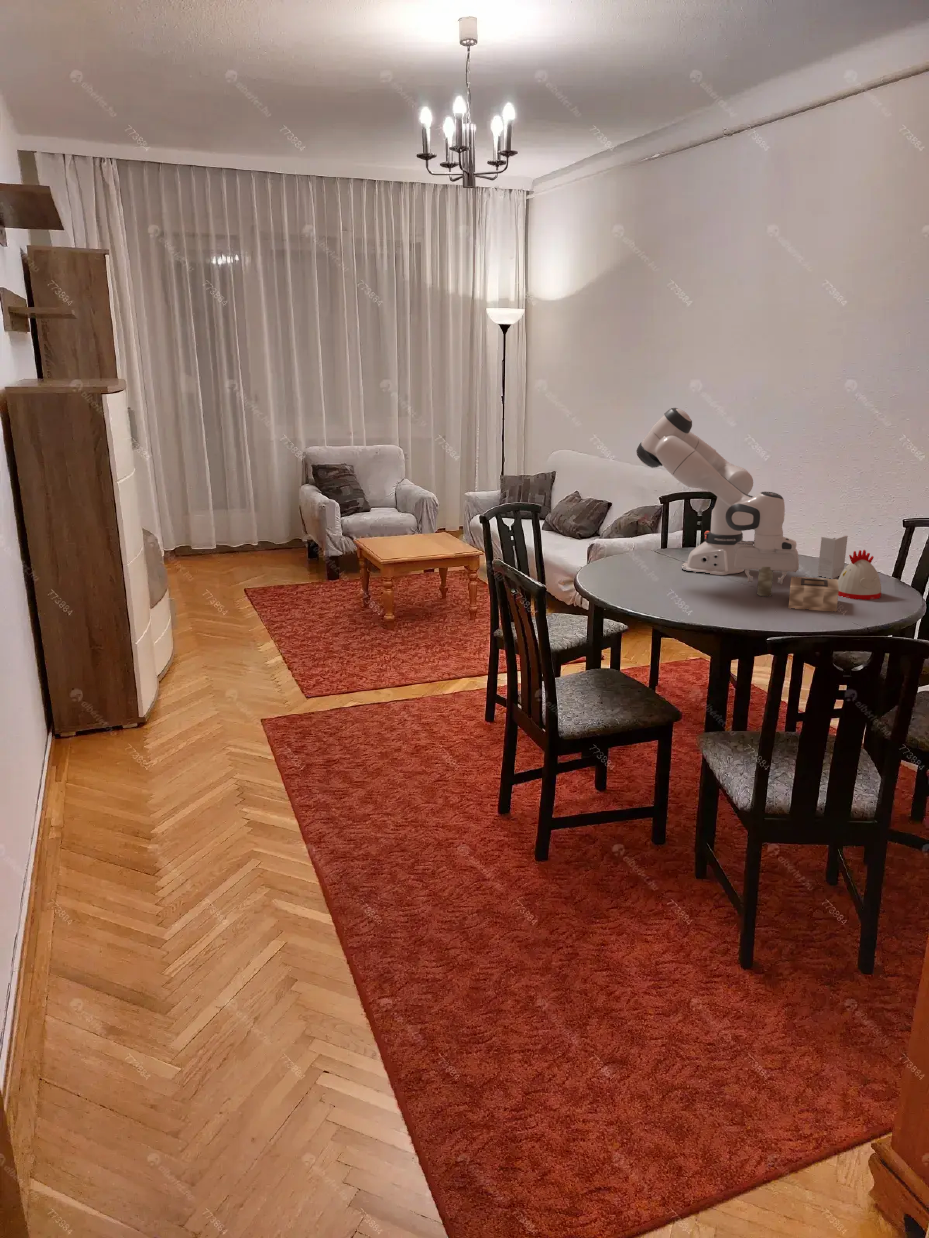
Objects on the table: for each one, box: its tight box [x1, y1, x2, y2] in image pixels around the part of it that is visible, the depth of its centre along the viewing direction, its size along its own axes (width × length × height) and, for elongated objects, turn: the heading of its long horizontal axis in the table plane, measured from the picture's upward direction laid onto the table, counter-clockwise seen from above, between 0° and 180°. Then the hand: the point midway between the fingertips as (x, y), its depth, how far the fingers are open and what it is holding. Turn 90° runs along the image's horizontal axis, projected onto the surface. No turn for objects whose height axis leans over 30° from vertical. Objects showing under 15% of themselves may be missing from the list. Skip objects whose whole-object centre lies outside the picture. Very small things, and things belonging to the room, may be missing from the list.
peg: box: [756, 567, 774, 597], centre depth 288 cm, size 4×4×10 cm
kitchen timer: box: [838, 549, 882, 601], centre depth 285 cm, size 14×14×15 cm
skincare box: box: [817, 532, 848, 579], centre depth 309 cm, size 8×6×15 cm
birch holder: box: [787, 576, 839, 613], centre depth 276 cm, size 14×14×7 cm
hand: (764, 582), depth 288 cm, fingers open, 8 cm apart
